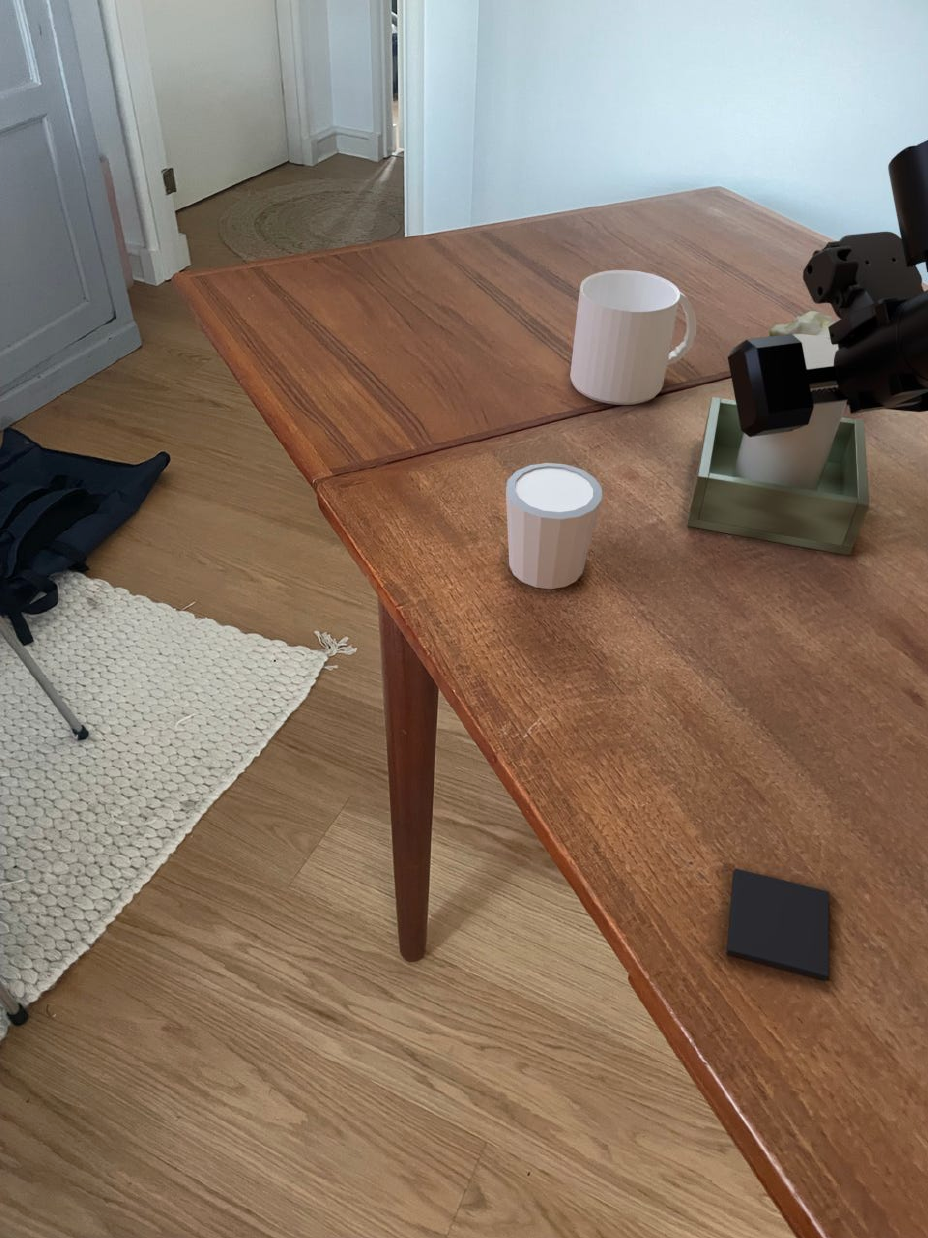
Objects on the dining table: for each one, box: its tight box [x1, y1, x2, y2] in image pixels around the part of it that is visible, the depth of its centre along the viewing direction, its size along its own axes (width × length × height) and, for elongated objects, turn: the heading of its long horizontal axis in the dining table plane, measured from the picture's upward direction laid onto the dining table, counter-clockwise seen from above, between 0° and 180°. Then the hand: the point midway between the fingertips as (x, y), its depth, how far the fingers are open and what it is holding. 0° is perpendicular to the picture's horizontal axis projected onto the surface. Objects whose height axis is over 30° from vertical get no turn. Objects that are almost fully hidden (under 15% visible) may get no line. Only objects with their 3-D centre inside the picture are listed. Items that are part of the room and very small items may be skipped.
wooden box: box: [686, 396, 870, 556], centre depth 76 cm, size 13×13×5 cm
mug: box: [570, 269, 697, 406], centre depth 88 cm, size 12×9×9 cm
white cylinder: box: [732, 334, 847, 491], centre depth 73 cm, size 7×7×12 cm
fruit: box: [769, 310, 837, 339], centre depth 91 cm, size 9×9×8 cm
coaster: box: [725, 867, 830, 981], centre depth 49 cm, size 5×5×1 cm
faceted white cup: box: [505, 462, 603, 590], centre depth 68 cm, size 7×7×7 cm
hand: (795, 405), depth 72 cm, fingers open, 9 cm apart
